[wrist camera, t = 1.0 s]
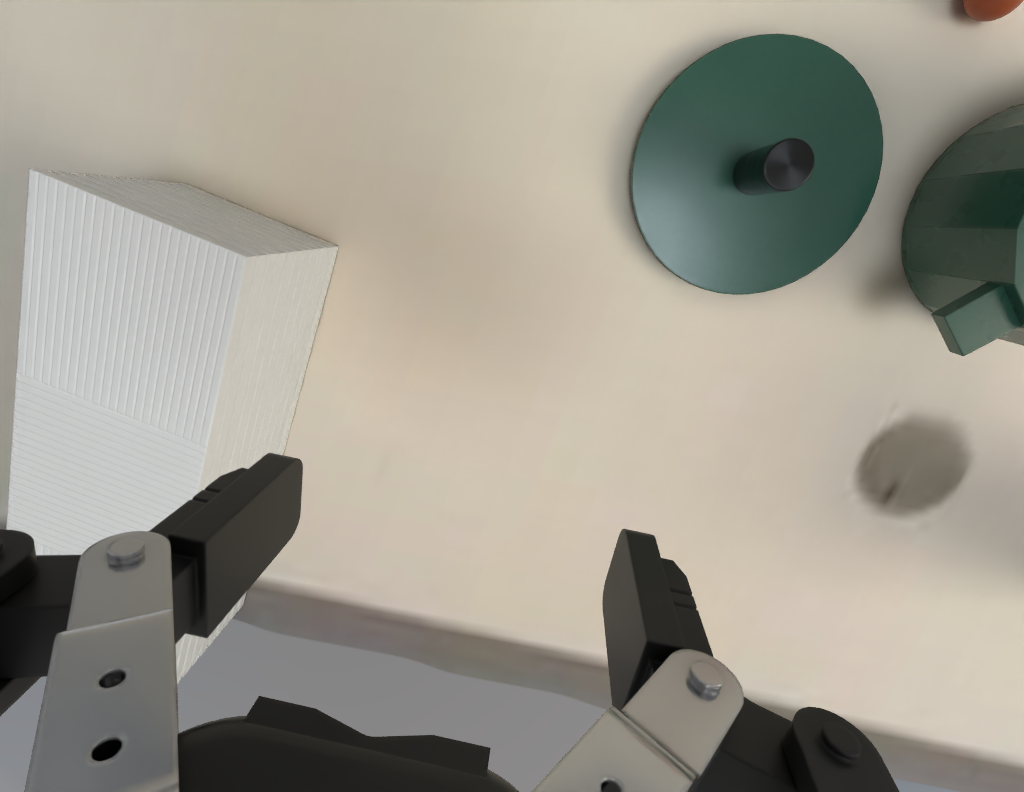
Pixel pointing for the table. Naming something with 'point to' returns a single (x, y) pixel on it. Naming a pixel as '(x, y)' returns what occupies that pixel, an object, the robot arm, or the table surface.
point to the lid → (757, 164)
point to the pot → (972, 236)
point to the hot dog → (989, 8)
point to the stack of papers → (151, 354)
